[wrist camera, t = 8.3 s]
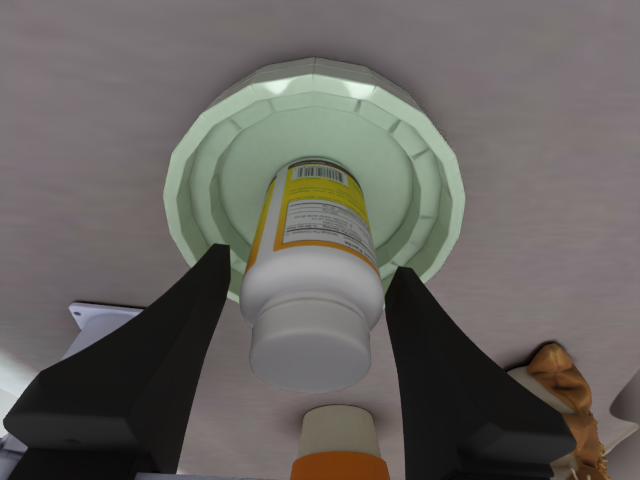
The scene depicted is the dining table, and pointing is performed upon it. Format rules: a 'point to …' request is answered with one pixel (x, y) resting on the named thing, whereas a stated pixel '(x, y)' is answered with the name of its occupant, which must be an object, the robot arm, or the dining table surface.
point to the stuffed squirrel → (566, 411)
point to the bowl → (316, 142)
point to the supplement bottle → (312, 281)
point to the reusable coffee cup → (339, 446)
